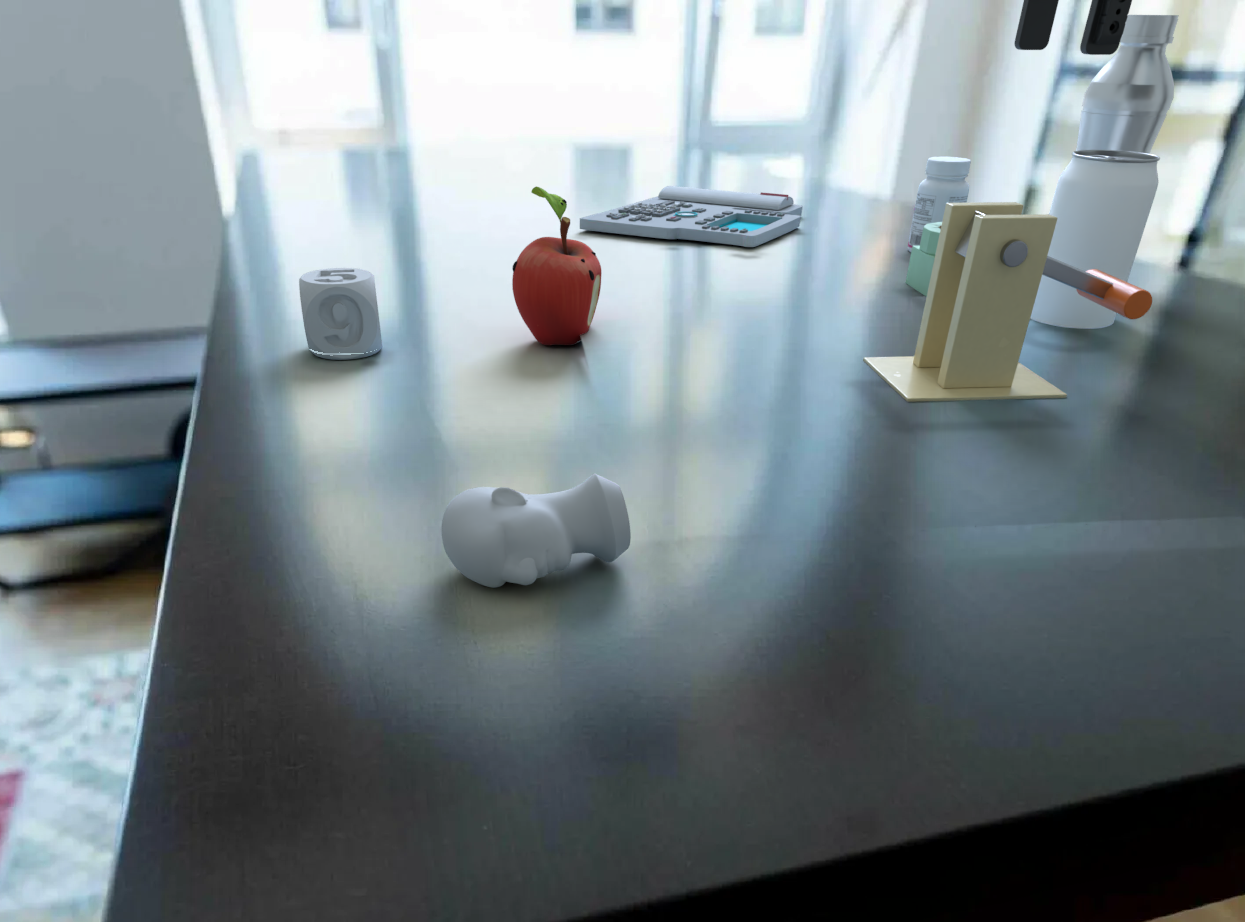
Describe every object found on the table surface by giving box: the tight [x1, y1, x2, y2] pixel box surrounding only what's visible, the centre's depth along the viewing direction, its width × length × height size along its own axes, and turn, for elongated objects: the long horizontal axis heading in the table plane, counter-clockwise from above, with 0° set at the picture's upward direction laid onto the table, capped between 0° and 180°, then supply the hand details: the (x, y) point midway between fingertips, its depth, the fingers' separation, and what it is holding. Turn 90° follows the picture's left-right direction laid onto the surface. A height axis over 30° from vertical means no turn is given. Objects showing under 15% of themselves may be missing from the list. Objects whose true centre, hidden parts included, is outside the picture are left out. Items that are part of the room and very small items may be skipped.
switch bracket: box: [862, 201, 1068, 403], centre depth 57 cm, size 10×8×11 cm
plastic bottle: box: [1075, 14, 1180, 154], centre depth 77 cm, size 6×7×20 cm
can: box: [1030, 150, 1161, 330], centre depth 68 cm, size 6×6×12 cm
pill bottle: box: [907, 156, 972, 253], centre depth 92 cm, size 5×5×8 cm
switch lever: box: [955, 211, 1153, 320], centre depth 56 cm, size 11×6×2 cm, turn 95°
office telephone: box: [579, 185, 803, 248], centre depth 105 cm, size 23×3×20 cm
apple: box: [511, 185, 602, 346], centre depth 66 cm, size 8×7×10 cm
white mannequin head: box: [441, 473, 632, 589], centre depth 39 cm, size 4×8×5 cm
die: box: [298, 267, 383, 361], centre depth 65 cm, size 5×5×5 cm
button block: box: [905, 222, 942, 297], centre depth 80 cm, size 9×8×5 cm
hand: (1061, 52), depth 63 cm, fingers open, 8 cm apart
